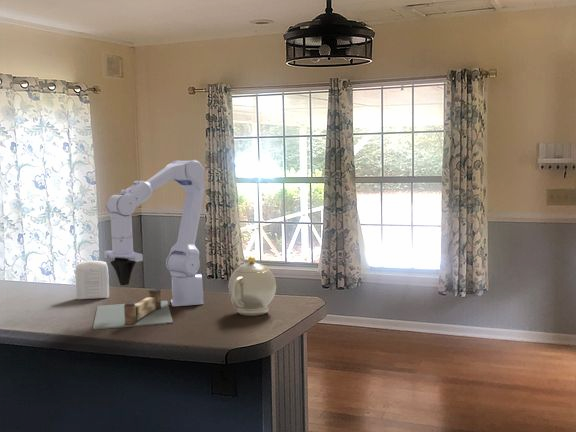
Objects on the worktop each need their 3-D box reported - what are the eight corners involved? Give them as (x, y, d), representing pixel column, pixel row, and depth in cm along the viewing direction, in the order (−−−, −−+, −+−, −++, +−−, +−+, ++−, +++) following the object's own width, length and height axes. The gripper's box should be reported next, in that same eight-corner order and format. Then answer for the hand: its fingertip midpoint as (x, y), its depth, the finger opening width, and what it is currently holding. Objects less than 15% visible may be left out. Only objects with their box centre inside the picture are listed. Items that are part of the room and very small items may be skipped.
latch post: (136, 323, 178) (135, 301, 178) (136, 326, 175) (135, 303, 175) (125, 324, 178) (123, 302, 177) (125, 327, 175) (123, 304, 174)
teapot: (247, 305, 197) (245, 251, 195) (286, 309, 190) (285, 253, 188) (212, 318, 181) (210, 260, 180) (253, 324, 174) (251, 263, 173)
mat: (167, 301, 204) (167, 300, 204) (172, 323, 178) (172, 321, 178) (97, 307, 199) (97, 305, 199) (92, 329, 173) (92, 328, 173)
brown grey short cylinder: (161, 308, 195) (160, 288, 195) (161, 310, 192) (160, 290, 191) (149, 309, 194) (148, 289, 194) (149, 311, 191) (148, 291, 190)
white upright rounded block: (109, 295, 215) (108, 258, 214) (109, 298, 211) (107, 260, 210) (77, 297, 213) (75, 260, 212) (76, 300, 209) (74, 262, 207)
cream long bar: (149, 308, 191) (148, 296, 191) (155, 308, 191) (155, 296, 190) (130, 319, 178) (130, 306, 178) (137, 319, 178) (137, 307, 178)
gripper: (94, 237, 185) (96, 284, 186) (127, 240, 176) (129, 289, 177) (114, 234, 190) (116, 280, 192) (147, 237, 182) (149, 285, 183)
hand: (124, 284), depth 185 cm, fingers closed
